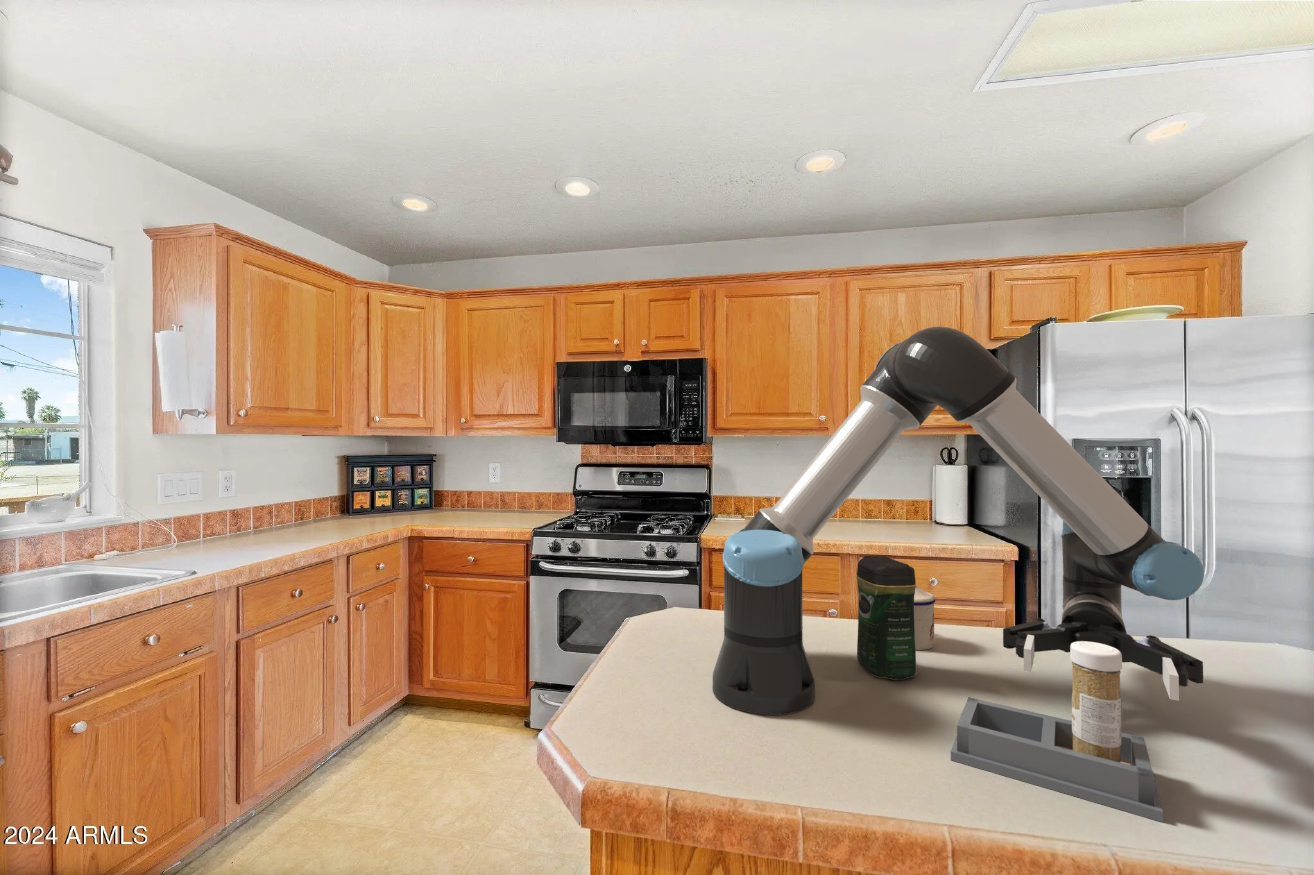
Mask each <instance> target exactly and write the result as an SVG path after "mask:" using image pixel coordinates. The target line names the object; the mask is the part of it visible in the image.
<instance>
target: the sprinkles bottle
mask: <svg viewBox="0 0 1314 875" xmlns="http://www.w3.org/2000/svg"><path fill="white" fill-rule="evenodd" d="M1069 653H1070V655H1069V656H1070V661H1071V666H1072V667H1071V668H1072V669H1071V670H1072V683H1071V684H1072V685H1071V686H1072V690H1071V691H1072V693H1071V721H1072V733H1073V751H1076V752H1080V753H1084V754H1088V755H1092V756H1096V757H1100V758H1104V759H1108V760H1112V761H1116V762H1120V760H1121V759H1120V745H1121V732H1122V696H1121V671H1122V669H1123V662H1122V654H1121V652H1120V651H1119V650H1117V649H1116V648H1114V647H1111V646H1108V645H1105V644H1101V643H1095V642H1087V641H1077V642H1073V643H1072V644H1071V646H1070V652H1069Z"/></svg>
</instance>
